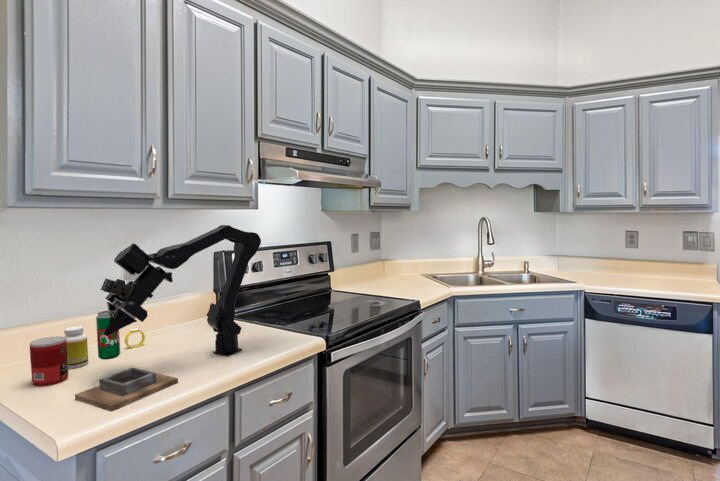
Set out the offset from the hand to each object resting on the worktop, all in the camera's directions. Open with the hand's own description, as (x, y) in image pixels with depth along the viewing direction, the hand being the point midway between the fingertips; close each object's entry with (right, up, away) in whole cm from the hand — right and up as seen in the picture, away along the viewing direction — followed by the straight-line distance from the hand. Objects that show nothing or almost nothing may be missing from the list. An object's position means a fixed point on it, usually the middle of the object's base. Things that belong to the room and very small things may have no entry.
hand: (102, 332), depth 114 cm
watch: (-7, -11, +31) cm, 34 cm away
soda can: (+1, -7, +1) cm, 7 cm away
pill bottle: (-16, -13, +14) cm, 25 cm away
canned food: (-15, -13, +2) cm, 20 cm away
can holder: (+9, -13, -5) cm, 17 cm away
